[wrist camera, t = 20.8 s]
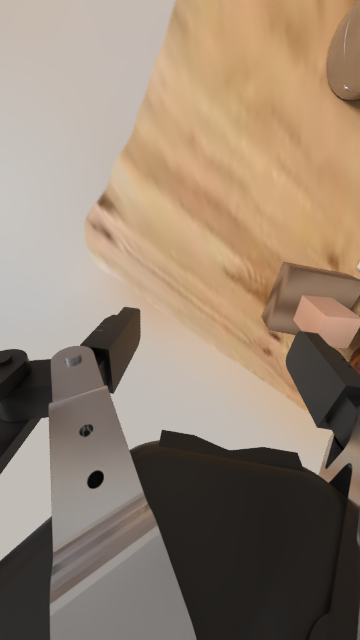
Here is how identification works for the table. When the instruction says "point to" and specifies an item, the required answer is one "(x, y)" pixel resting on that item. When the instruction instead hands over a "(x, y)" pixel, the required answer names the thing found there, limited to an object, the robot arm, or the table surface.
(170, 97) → the table surface
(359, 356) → the jug
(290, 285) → the walnut block
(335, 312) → the terracotta block
